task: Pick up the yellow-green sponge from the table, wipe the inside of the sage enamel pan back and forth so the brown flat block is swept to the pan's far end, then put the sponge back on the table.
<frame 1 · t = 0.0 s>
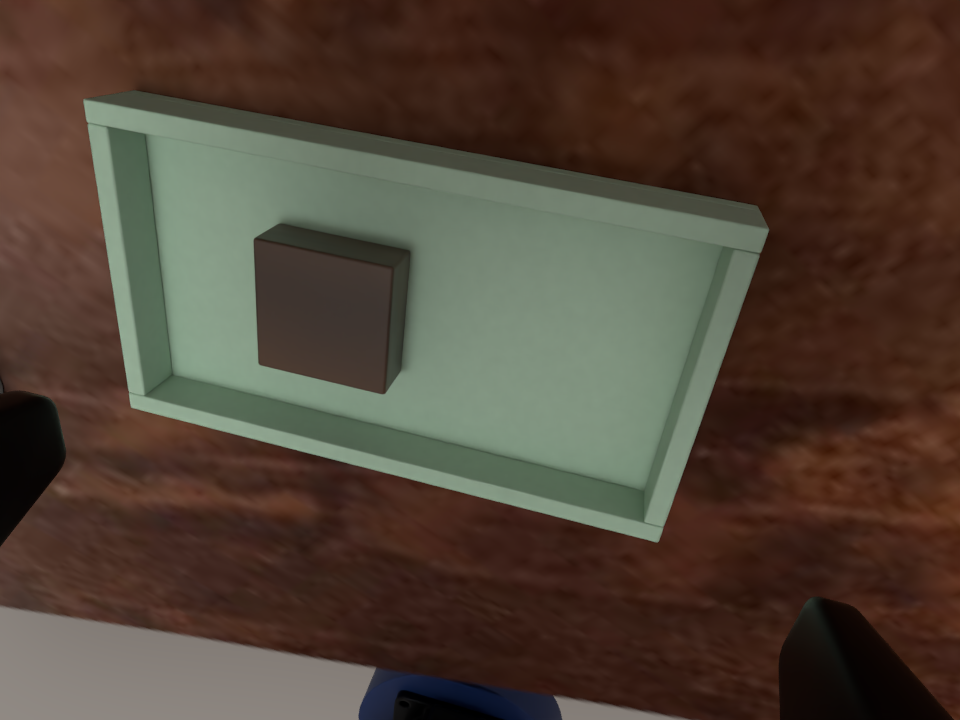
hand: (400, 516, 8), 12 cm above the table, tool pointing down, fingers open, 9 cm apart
pan: (411, 307, 20), on the table
brown flat block: (342, 299, 20), resting on pan
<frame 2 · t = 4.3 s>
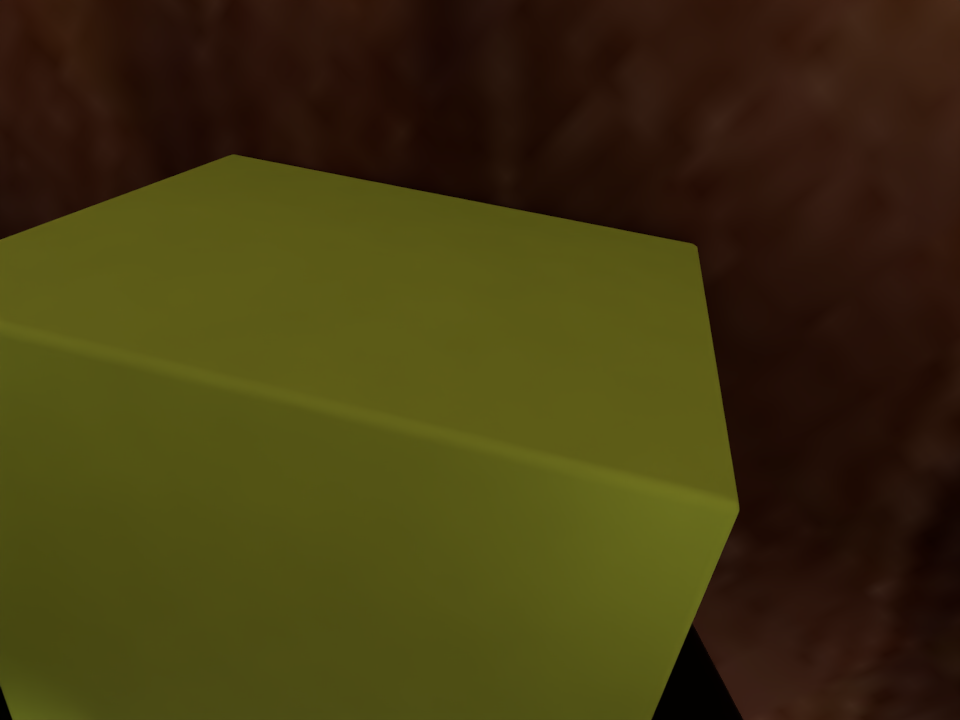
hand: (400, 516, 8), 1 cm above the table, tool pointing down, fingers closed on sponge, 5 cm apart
sponge: (424, 462, 9), on the table, touching gripper
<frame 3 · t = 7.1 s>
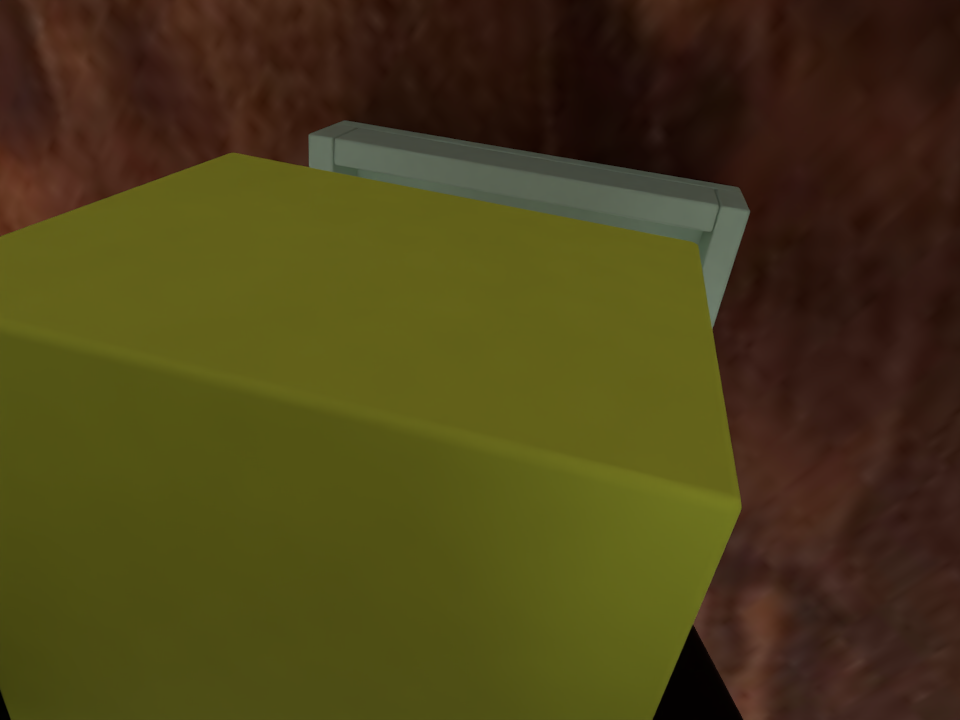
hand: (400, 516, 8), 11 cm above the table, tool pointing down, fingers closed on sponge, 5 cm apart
pan: (489, 442, 20), on the table
sponge: (424, 461, 9), point 10 cm above the table, touching gripper
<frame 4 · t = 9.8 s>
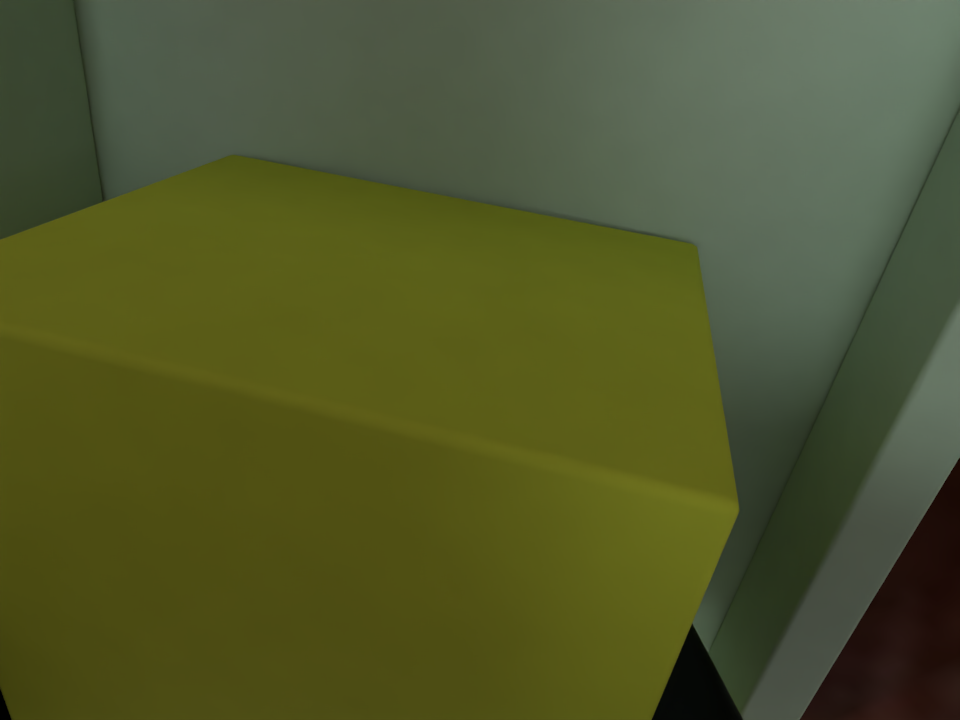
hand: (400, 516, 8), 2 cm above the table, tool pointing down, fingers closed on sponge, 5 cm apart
pan: (433, 458, 9), on the table
sponge: (424, 462, 9), point 1 cm above the table, touching gripper
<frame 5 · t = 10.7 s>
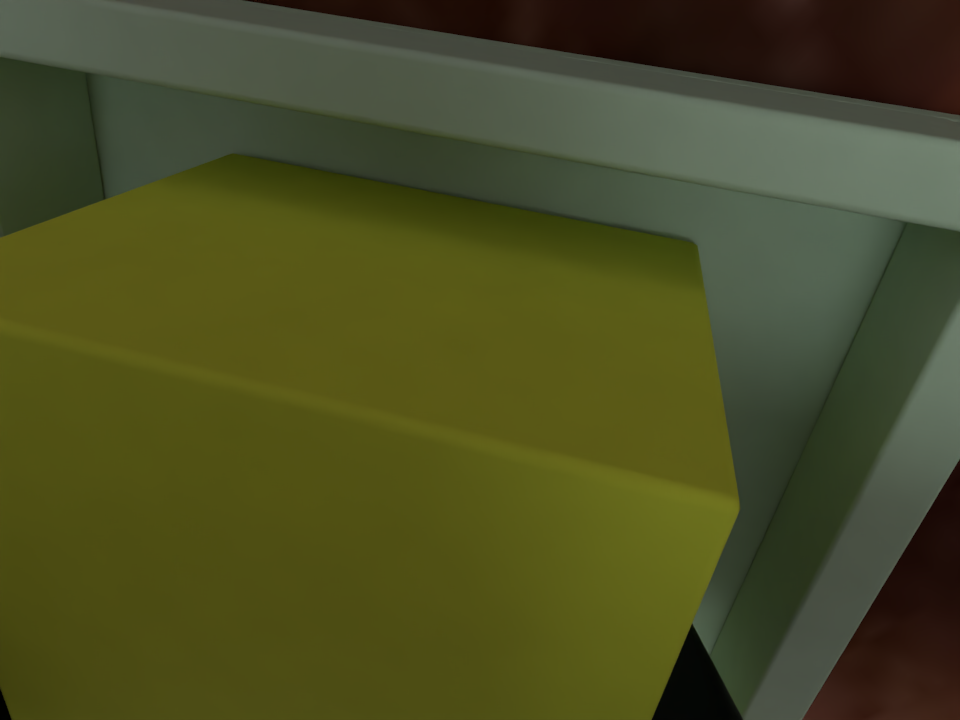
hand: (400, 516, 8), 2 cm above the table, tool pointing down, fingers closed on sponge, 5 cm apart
pan: (415, 619, 11), on the table
sponge: (424, 462, 9), point 1 cm above the table, touching gripper
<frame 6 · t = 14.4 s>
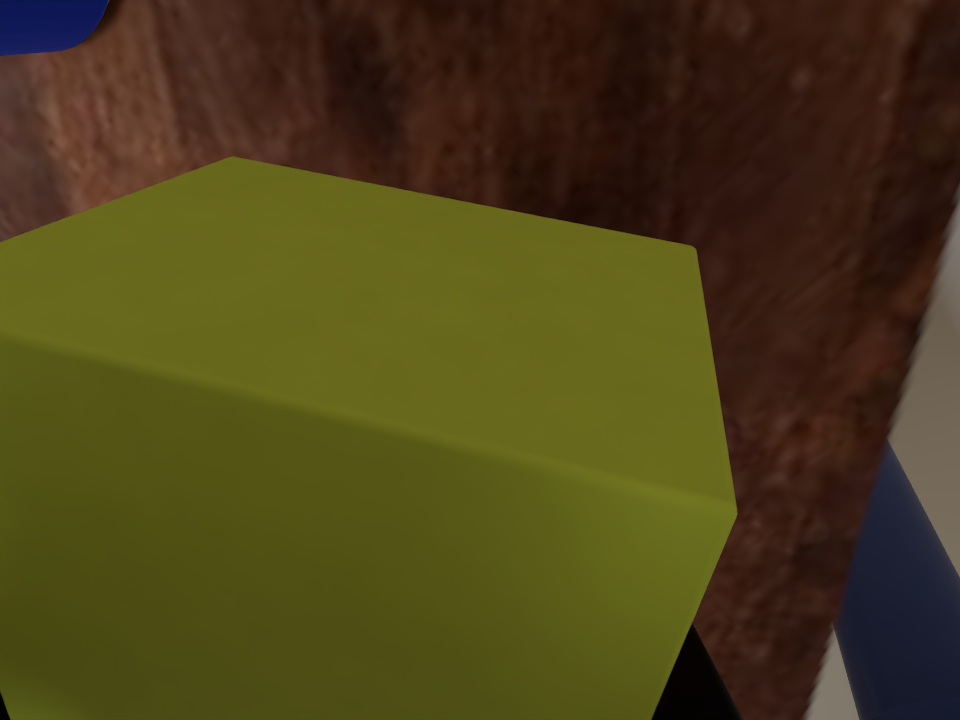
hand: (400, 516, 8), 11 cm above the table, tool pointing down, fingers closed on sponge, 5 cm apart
sponge: (423, 464, 9), point 10 cm above the table, touching gripper
when the fingers open (1 cm above the table, at t = 17.5 s): sponge stays where it is, on the table.
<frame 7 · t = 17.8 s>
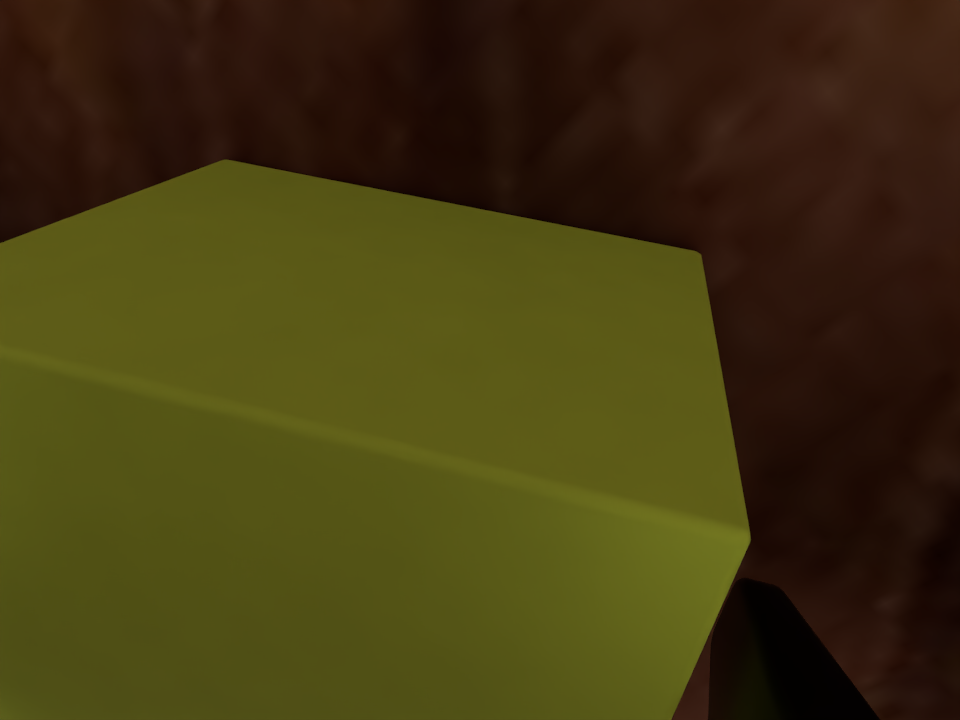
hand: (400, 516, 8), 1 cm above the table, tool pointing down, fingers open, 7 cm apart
sponge: (422, 472, 8), on the table
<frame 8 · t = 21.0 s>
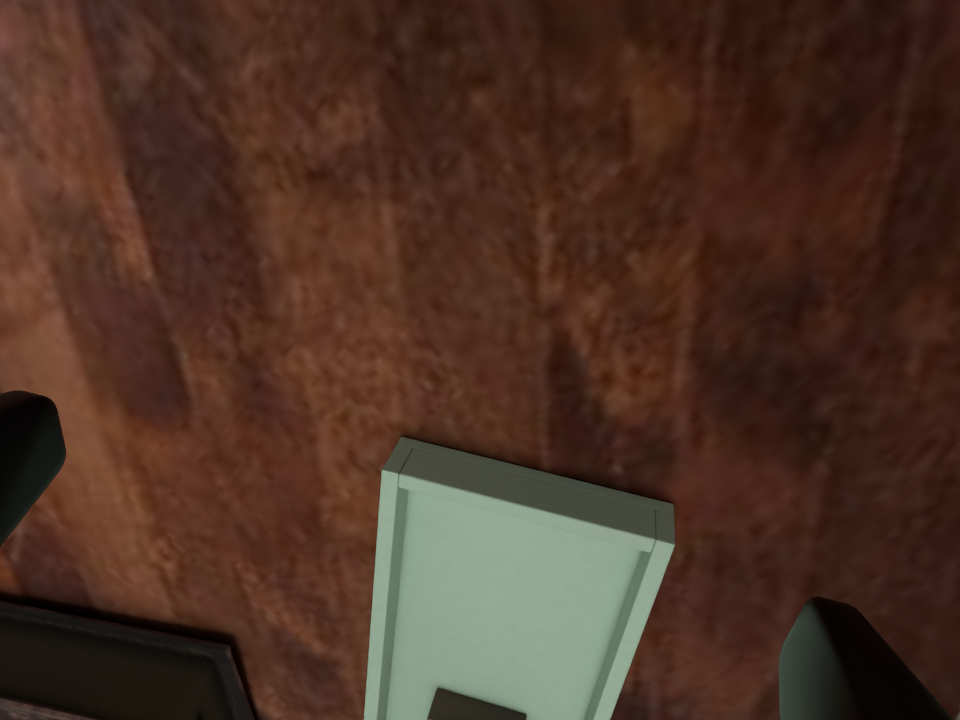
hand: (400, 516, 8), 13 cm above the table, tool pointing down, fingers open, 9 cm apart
pan: (498, 633, 27), on the table
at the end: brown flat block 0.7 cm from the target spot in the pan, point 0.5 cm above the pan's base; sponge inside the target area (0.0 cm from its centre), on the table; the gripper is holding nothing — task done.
